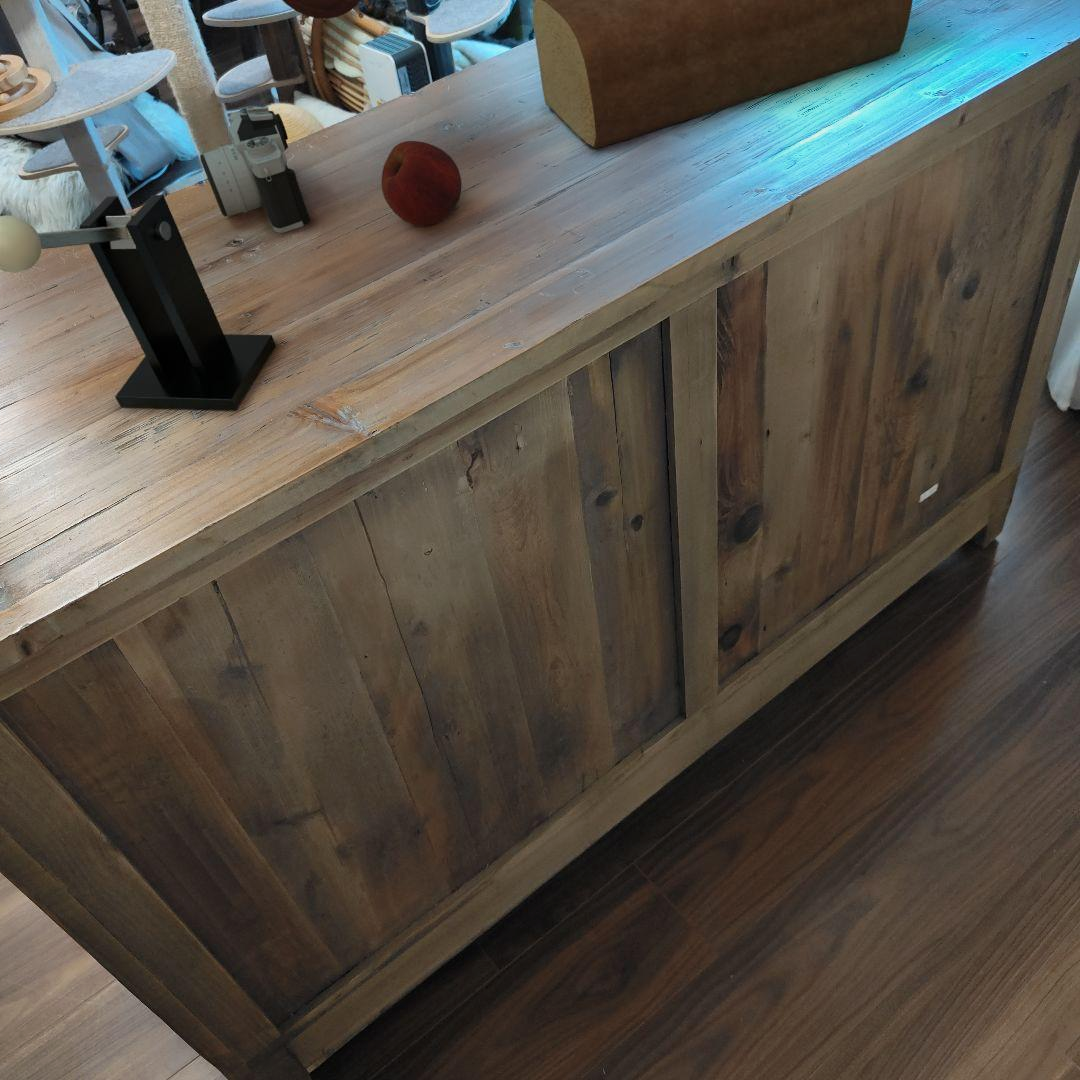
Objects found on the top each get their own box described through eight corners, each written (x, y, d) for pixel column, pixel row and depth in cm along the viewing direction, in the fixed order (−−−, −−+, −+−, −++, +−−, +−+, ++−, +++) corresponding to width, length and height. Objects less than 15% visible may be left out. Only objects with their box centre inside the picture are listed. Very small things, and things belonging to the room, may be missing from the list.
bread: (539, 105, 116) (522, -21, 106) (833, 14, 123) (842, -112, 113) (594, 157, 106) (581, 23, 96) (912, 55, 112) (930, -81, 102)
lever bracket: (236, 411, 84) (159, 241, 72) (120, 407, 86) (28, 242, 75) (276, 345, 89) (210, 178, 78) (167, 344, 92) (88, 182, 81)
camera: (212, 190, 112) (176, 101, 105) (289, 165, 114) (259, 76, 107) (237, 251, 102) (200, 157, 95) (321, 224, 104) (291, 129, 96)
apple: (387, 212, 104) (367, 136, 98) (460, 193, 104) (444, 117, 98) (397, 246, 98) (377, 169, 93) (474, 227, 99) (459, 149, 93)
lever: (20, 275, 64) (8, 216, 63) (-27, 275, 65) (-40, 217, 64) (166, 253, 79) (159, 205, 78) (126, 254, 80) (118, 206, 79)
